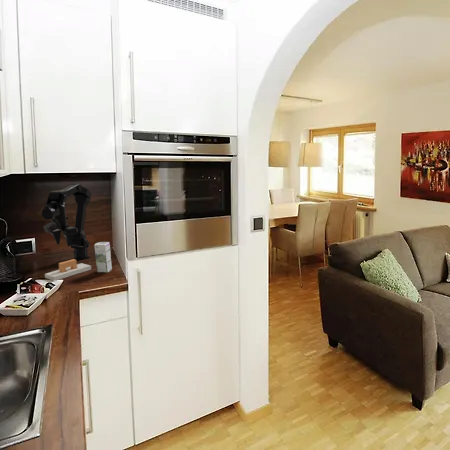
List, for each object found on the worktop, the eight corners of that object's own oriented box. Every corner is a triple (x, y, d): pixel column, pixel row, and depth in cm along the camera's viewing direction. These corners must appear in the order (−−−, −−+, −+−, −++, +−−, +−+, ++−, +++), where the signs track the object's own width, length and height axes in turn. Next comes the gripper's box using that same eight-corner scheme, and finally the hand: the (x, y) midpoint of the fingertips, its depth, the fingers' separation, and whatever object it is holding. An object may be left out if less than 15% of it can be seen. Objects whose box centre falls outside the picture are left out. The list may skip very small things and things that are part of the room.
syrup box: (112, 269, 189) (110, 241, 186) (107, 272, 183) (105, 244, 180) (101, 269, 190) (99, 241, 187) (96, 272, 184) (93, 244, 181)
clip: (74, 270, 187) (73, 259, 186) (77, 271, 186) (76, 259, 185) (59, 275, 181) (58, 263, 180) (62, 276, 180) (61, 264, 179)
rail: (81, 266, 194) (81, 263, 194) (91, 269, 189) (90, 265, 189) (45, 277, 178) (44, 273, 177) (54, 280, 173) (53, 276, 173)
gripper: (34, 216, 187) (38, 246, 191) (55, 220, 177) (59, 251, 181) (54, 213, 197) (58, 241, 200) (76, 216, 186) (79, 246, 190)
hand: (63, 245), depth 192 cm, fingers open, 9 cm apart
